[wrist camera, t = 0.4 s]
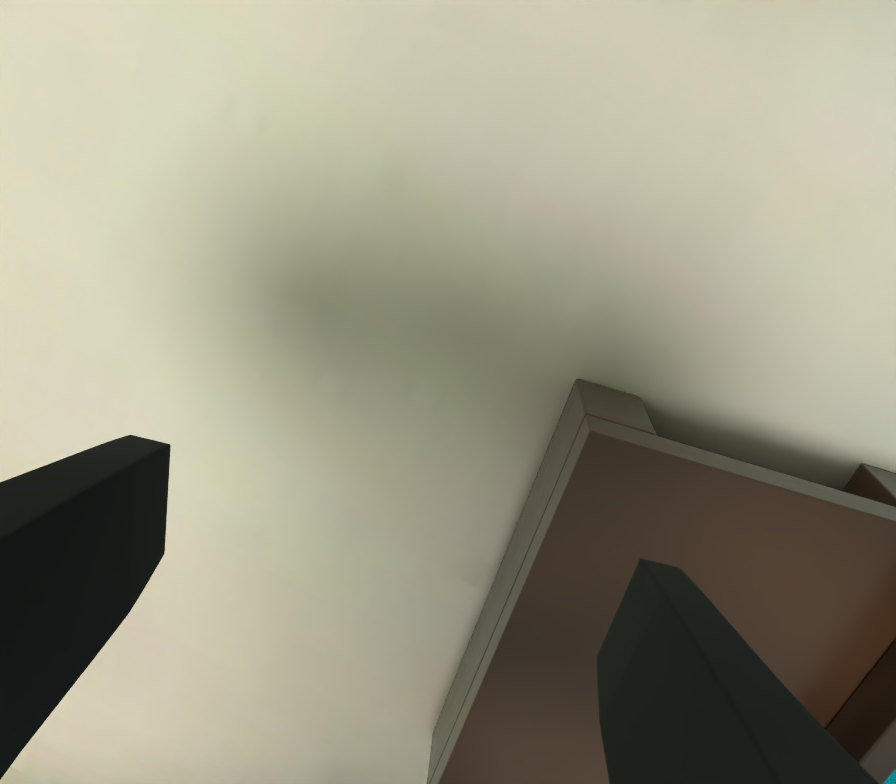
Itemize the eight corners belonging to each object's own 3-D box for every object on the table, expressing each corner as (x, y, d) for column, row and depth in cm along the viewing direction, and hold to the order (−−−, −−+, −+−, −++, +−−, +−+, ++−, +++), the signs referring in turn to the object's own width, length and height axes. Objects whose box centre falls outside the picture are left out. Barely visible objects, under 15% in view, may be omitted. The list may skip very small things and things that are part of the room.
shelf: (694, 804, 26) (734, 953, 21) (432, 732, 25) (416, 868, 21) (922, 481, 19) (1051, 595, 15) (575, 377, 19) (598, 461, 14)
